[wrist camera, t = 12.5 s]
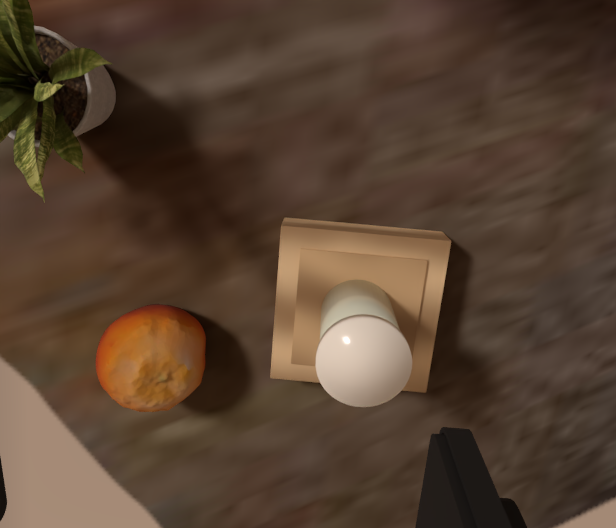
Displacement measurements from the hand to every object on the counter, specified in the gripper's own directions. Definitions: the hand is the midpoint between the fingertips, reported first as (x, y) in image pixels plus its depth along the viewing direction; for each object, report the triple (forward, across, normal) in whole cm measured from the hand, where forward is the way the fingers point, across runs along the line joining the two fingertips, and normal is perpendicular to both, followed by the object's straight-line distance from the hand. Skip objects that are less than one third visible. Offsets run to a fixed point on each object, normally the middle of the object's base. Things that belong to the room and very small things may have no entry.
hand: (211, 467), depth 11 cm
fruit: (+29, +10, +13) cm, 33 cm away
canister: (+26, -5, +8) cm, 28 cm away
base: (+29, -5, +8) cm, 31 cm away
